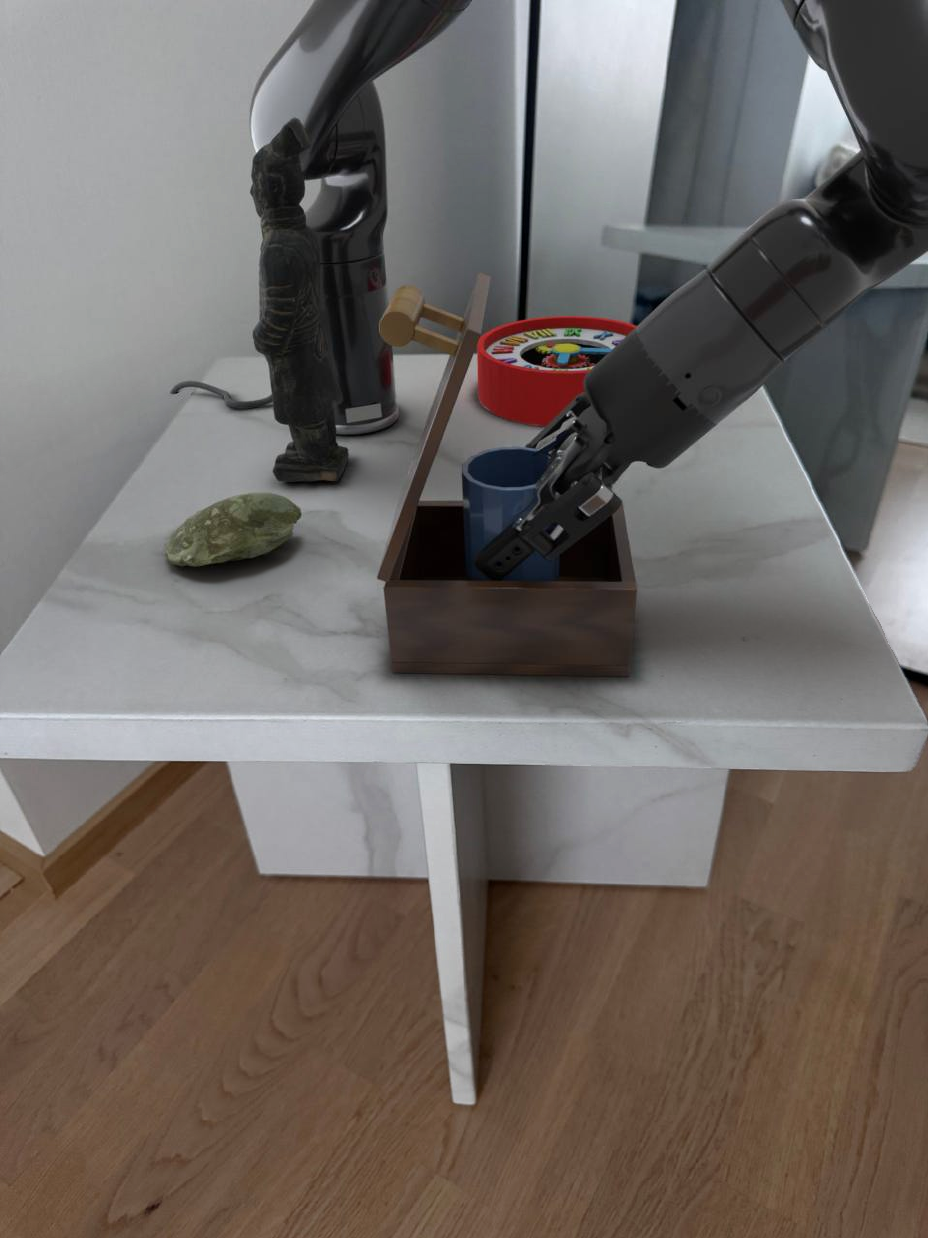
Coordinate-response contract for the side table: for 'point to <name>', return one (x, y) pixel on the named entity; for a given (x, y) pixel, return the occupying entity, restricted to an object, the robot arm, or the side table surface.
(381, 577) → the dish box lid
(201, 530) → the green rounded rock
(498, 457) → the cup
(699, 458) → the side table surface
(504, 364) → the toy clock
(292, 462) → the statue
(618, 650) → the box
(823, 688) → the side table surface
